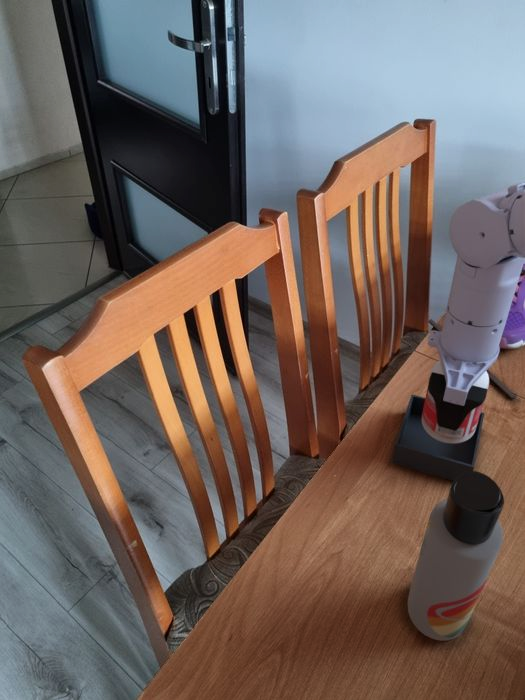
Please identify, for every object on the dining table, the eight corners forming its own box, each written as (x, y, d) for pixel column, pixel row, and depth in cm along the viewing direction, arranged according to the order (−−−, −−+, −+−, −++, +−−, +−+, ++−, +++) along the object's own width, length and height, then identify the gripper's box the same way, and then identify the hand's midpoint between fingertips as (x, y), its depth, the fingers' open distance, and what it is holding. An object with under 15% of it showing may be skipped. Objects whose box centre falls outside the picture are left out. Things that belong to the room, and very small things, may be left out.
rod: (513, 397, 74) (517, 396, 74) (428, 319, 88) (432, 318, 88) (512, 401, 75) (516, 399, 75) (428, 323, 88) (431, 322, 88)
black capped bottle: (474, 642, 52) (531, 522, 39) (412, 642, 52) (449, 523, 39) (458, 583, 56) (505, 457, 43) (401, 583, 56) (431, 459, 43)
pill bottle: (454, 401, 69) (472, 331, 61) (485, 436, 64) (509, 365, 57) (410, 415, 67) (423, 345, 60) (439, 452, 63) (457, 381, 56)
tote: (478, 431, 71) (484, 412, 69) (468, 485, 65) (474, 467, 63) (408, 412, 74) (411, 394, 72) (391, 462, 68) (394, 444, 66)
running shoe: (457, 351, 83) (471, 296, 76) (482, 271, 98) (495, 220, 92) (525, 368, 80) (547, 313, 73) (540, 283, 95) (559, 231, 88)
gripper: (448, 265, 61) (430, 358, 70) (420, 344, 51) (403, 440, 60) (517, 277, 59) (488, 371, 67) (501, 362, 49) (471, 460, 58)
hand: (452, 405), depth 64 cm, fingers closed on pill bottle, 6 cm apart
